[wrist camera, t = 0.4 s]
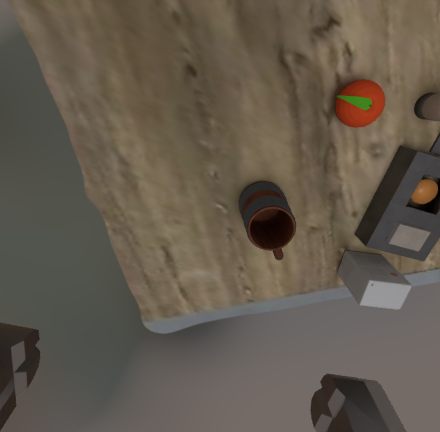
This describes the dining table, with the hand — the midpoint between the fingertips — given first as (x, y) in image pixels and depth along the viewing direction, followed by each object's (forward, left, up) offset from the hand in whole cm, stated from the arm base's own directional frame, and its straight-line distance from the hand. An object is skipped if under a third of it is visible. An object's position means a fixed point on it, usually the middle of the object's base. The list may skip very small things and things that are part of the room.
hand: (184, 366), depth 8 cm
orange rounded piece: (-1, +38, -44) cm, 58 cm away
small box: (+17, +36, -46) cm, 61 cm away
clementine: (-11, +20, -46) cm, 52 cm away
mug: (+11, +13, -46) cm, 49 cm away
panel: (+2, +38, -46) cm, 60 cm away
